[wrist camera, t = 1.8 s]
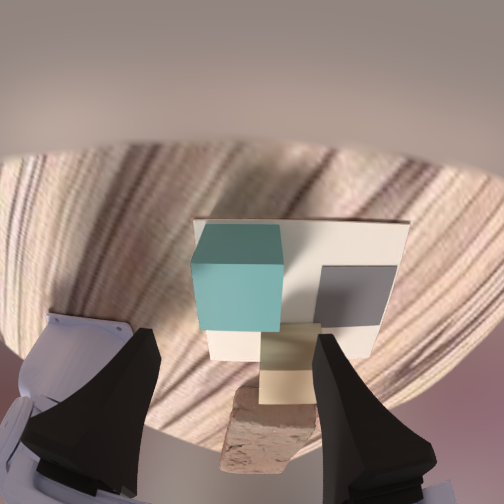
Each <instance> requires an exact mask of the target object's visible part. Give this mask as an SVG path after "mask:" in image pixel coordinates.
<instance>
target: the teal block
mask: <svg viewBox="0 0 504 504" xmlns="http://www.w3.org/2000/svg"><path fill="white" fill-rule="evenodd" d="M190 264H191V272H192V280H193V287H194V294H195V301H196V307H197V314H198V320H199V326H200V330H211V331H242V332H279V330H280V318H281V304H282V290H283V275H284V259H283V251H282V242H281V234H280V226H279V224H205V226H204V229H203V231H202V234H201V236H200V239H199V242H198V244H197V247H196V250H195V252H194V255H193V258H192V260H191V263H190Z"/></svg>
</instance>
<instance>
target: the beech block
mask: <svg viewBox="0 0 504 504" xmlns="http://www.w3.org/2000/svg"><path fill="white" fill-rule="evenodd" d="M318 334H322V329H321V323H280V330H279V332H261V343H260V378H259V404H316V397H315V392H314V386H313V375H312V360H313V356H314V351H315V346H316V342H317V337H318Z"/></svg>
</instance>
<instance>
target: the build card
mask: <svg viewBox="0 0 504 504" xmlns="http://www.w3.org/2000/svg"><path fill="white" fill-rule="evenodd" d="M205 224H279V226H280V234H281V242H282V251H283V259H284V275H283V290H282V304H281V318H280V323H321V329H322V334H331V333H332V334H333V335H334V337H335V338H336V340H337V342H338V344H339V346H340V347H341V349H342V351H343V352H344V354H345V356H346V357H347V359H359V358H369V355H370V353H371V350H372V348H373V345H374V343H375V340H376V337H377V334H378V332H379V329H380V326H381V323H382V321H383V318H384V315H385V312H386V309H387V306H388V303H389V300H390V296H391V293H392V290H393V287H394V283H395V280H396V277H397V273H398V270H399V266H400V262H401V259H402V255H403V251H404V247H405V243H406V239H407V235H408V231H409V226H410V225H409V224H406V223H385V222H360V221H330V220H287V219H193V225H194V236H195V245H196V247H197V244H198V242H199V239H200V236H201V234H202V231H203V229H204V226H205ZM206 332H207V339H208V346H209V352H210V359H211V360H219V361H248V362H260V343H261V332H242V331H211V330H206Z"/></svg>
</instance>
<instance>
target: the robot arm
mask: <svg viewBox="0 0 504 504" xmlns="http://www.w3.org/2000/svg"><path fill="white" fill-rule="evenodd" d="M46 319H47V321H48V325H47V326H46V328H45V329H44V330H43V332H42V334H41V335H40V337H39V338H38V340H37V341H36V343H35V344H34V346H33V347H32V349H31V351H30V352H29V354H28V355H27V357H26V359H25V360H24V362H23V364H22V366H21V370H20V374H19V391H20V394H21V397H18V398H17V399H16V400H15V401H14V402H13V404H12V405H11V407H10V408H9V410H8V412H7V413H6V415H5V417H4V419H3V421H2V423H1V425H0V494H1V495H2V497H3V498H4V500H5V502H6V504H150V503H146V502H141V501H137V500H133V499H131V498H133V497H135V496H137V473H138V461H139V452H140V444H141V438H142V431H143V426H144V422H145V418H146V414H147V411H148V408H149V405H150V402H151V398H152V395H153V392H154V389H155V386H156V383H157V379H158V375H159V370H160V364H161V356H160V353H159V349H158V346H157V343H156V340H155V337H154V333H153V330H152V329H148V328H139V329H138V330H137V331H136V332H135V333H134V335H133V332H132V329H131V327H130V325H129V324H128V323H125V322H116V321H107V320H98V319H90V318H82V317H75V316H68V315H61V314H54V313H47V315H46ZM312 375H313V386H314V392H315V397H316V403H317V408H318V413H319V419H320V424H321V432H322V446H323V504H456V500H455V495H454V491H453V487H452V483H451V480H446V481H443V482H441V483H438V484H435V485H432V486H429V487H427V488H424V489H422V488H421V484H423V477H422V476H423V475H424V474H425V473H427V472H428V471H429V470H431V469H432V468H433V467H434V466H435V465H436V463H437V460H436V456H435V453H434V450H433V448H432V446H431V443H429V442H427V441H426V440H425V439H423V438H422V437H420V436H419V435H417V434H415V433H414V432H413V431H411V430H410V429H409V428H408V427H406V426H405V425H404V424H403V423H401V421H399V420H398V419H397V418H396V417H395V416H394V415H393V414H392V413H390V412H389V411H388V410H387V409H386V408H385V407H384V406H383V405H382V403H381V402H380V401H379V400H378V399H377V398H376V397H375V396H374V395H373V393H372V392H371V391H370V390H369V389H368V387H367V386H366V385H365V383H364V382H363V381H362V379H361V378H360V377H359V375H358V374H357V372H356V371H355V370H354V368H353V367H352V365H351V364H350V362H349V361H348V359H347V357H346V356H345V354H344V352H343V351H342V349H341V347H340V346H339V344H338V342H337V340H336V338H335V337H334V335H333V334H332V333H331V334H318V337H317V342H316V346H315V351H314V356H313V360H312Z"/></svg>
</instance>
